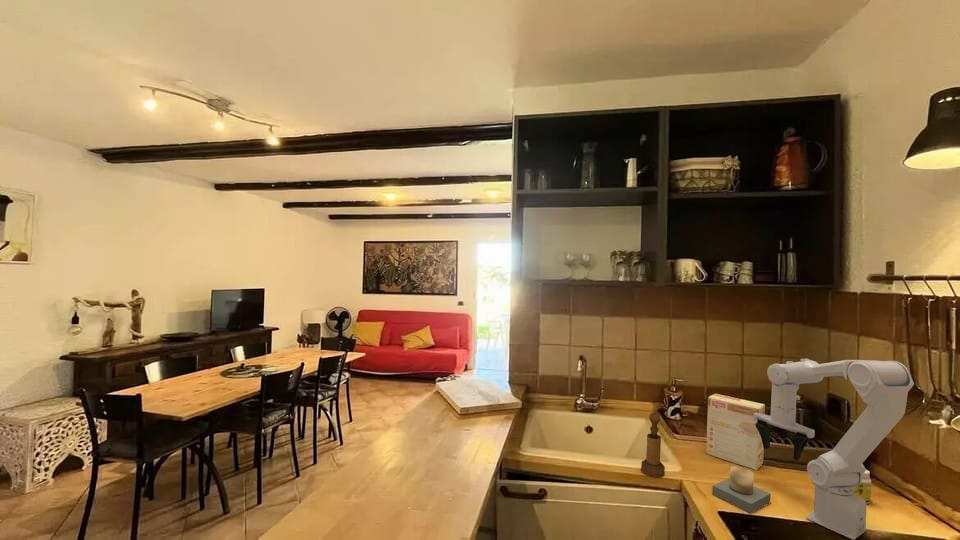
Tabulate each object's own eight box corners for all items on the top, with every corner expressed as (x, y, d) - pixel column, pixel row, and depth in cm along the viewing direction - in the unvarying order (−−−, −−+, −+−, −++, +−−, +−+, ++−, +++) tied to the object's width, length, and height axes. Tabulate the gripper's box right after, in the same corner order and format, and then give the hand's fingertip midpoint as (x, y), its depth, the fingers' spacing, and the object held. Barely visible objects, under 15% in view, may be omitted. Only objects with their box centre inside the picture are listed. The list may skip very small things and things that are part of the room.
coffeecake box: (763, 464, 134) (765, 404, 134) (757, 471, 129) (759, 408, 129) (713, 448, 145) (715, 392, 145) (705, 454, 141) (707, 396, 140)
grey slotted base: (770, 502, 112) (770, 493, 112) (750, 513, 107) (751, 503, 107) (732, 485, 120) (732, 476, 120) (712, 494, 115) (712, 485, 115)
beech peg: (756, 500, 113) (757, 473, 113) (746, 506, 110) (747, 478, 110) (735, 491, 117) (736, 464, 117) (725, 496, 115) (726, 469, 114)
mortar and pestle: (650, 478, 123) (652, 418, 123) (636, 468, 129) (638, 410, 129) (669, 476, 125) (671, 416, 125) (654, 465, 131) (656, 409, 131)
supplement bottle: (842, 496, 116) (844, 466, 116) (853, 493, 118) (854, 464, 118) (863, 506, 112) (865, 475, 111) (874, 503, 113) (875, 472, 113)
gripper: (820, 412, 114) (818, 461, 114) (762, 396, 127) (760, 440, 127) (808, 416, 111) (806, 467, 111) (750, 399, 123) (748, 445, 123)
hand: (781, 453), depth 119 cm, fingers open, 7 cm apart
